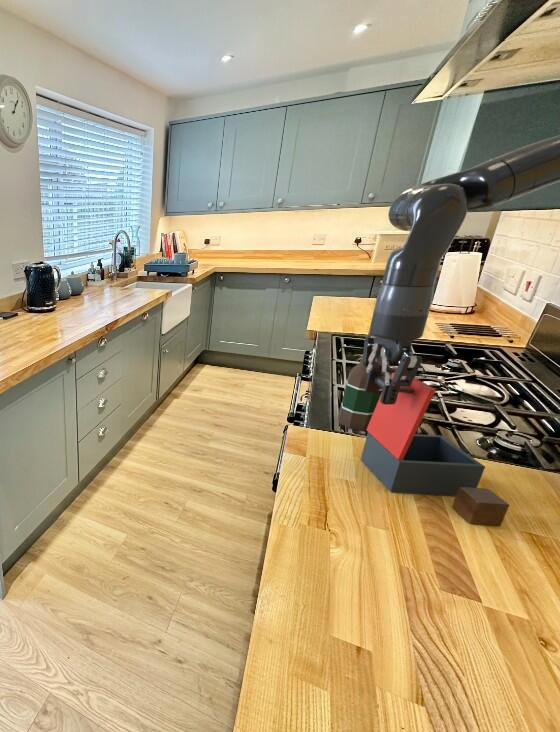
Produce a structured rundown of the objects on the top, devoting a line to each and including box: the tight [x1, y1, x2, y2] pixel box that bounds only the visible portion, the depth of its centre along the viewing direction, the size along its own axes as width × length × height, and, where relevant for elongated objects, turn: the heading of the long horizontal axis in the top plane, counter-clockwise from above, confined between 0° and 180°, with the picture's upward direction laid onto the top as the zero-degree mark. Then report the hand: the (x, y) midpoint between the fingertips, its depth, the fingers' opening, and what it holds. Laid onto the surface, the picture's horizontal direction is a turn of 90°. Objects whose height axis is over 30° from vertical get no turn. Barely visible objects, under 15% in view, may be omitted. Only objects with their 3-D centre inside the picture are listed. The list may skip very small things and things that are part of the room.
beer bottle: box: [338, 331, 385, 432], centre depth 101 cm, size 8×8×24 cm
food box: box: [360, 432, 486, 497], centre depth 83 cm, size 14×12×7 cm
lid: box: [366, 366, 436, 460], centre depth 80 cm, size 14×12×5 cm
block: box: [451, 487, 510, 527], centre depth 72 cm, size 4×4×4 cm
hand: (378, 397), depth 79 cm, fingers closed on lid, 5 cm apart
